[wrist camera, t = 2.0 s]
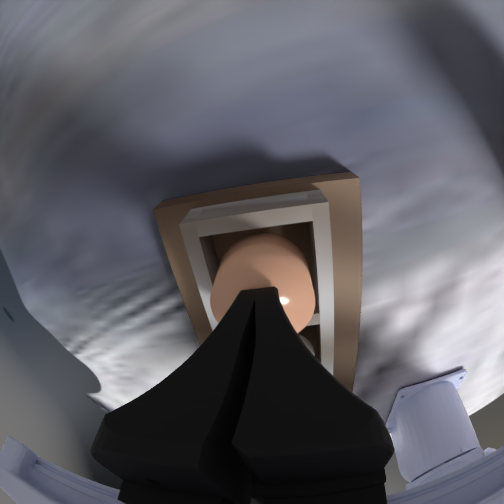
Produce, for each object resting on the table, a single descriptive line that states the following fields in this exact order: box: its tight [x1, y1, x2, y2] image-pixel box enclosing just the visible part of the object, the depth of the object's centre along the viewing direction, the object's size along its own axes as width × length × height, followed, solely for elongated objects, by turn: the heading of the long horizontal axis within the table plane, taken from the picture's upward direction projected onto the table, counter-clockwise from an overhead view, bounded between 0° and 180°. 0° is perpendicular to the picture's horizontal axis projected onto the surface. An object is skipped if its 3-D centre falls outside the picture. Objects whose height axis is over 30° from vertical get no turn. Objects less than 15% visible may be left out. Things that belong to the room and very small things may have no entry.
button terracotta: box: [210, 233, 315, 333], centre depth 12 cm, size 4×4×2 cm
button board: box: [153, 172, 362, 392], centre depth 16 cm, size 18×10×4 cm, turn 10°
